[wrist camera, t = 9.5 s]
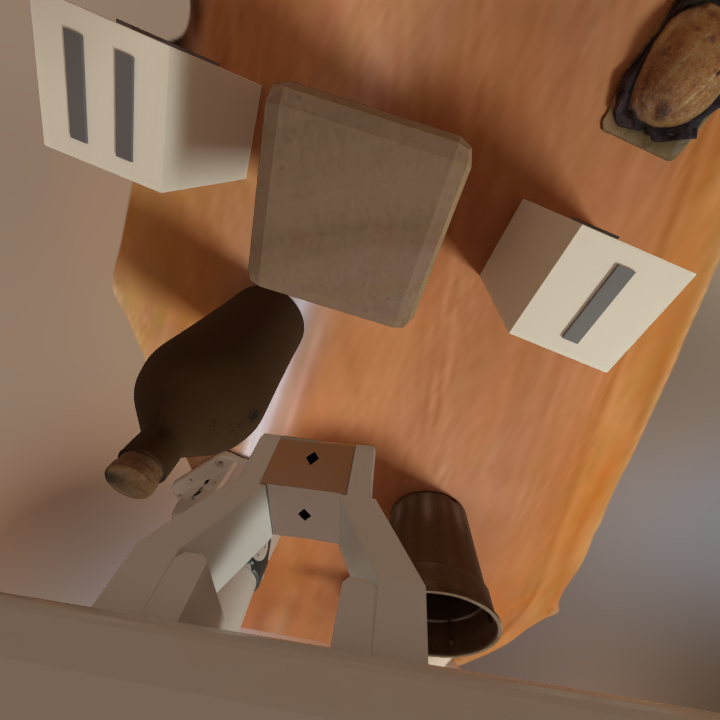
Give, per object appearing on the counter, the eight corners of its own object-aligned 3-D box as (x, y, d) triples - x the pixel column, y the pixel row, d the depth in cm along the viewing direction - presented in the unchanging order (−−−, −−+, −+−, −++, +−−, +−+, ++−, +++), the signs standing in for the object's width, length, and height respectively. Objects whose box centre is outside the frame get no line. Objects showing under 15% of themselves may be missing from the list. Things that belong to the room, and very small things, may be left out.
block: (342, 112, 32) (259, 69, 15) (448, 146, 32) (484, 141, 15) (320, 224, 37) (239, 287, 20) (411, 253, 38) (407, 339, 20)
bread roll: (669, 166, 31) (697, 168, 28) (586, 125, 31) (606, 122, 28) (789, 12, 26) (841, -7, 23) (692, -44, 25) (731, -70, 22)
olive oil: (282, 266, 40) (131, 398, 19) (324, 345, 45) (239, 523, 23) (209, 298, 43) (9, 441, 22) (254, 368, 48) (124, 544, 27)
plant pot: (468, 473, 52) (487, 588, 38) (490, 540, 59) (513, 658, 45) (365, 489, 57) (349, 597, 43) (397, 549, 64) (392, 659, 50)
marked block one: (547, 303, 38) (608, 374, 26) (479, 275, 38) (509, 334, 26) (599, 228, 34) (701, 272, 22) (524, 196, 34) (586, 221, 21)
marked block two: (246, 178, 36) (159, 193, 24) (169, 146, 36) (41, 145, 23) (262, 82, 32) (167, 40, 20) (176, 44, 31) (24, -23, 19)
